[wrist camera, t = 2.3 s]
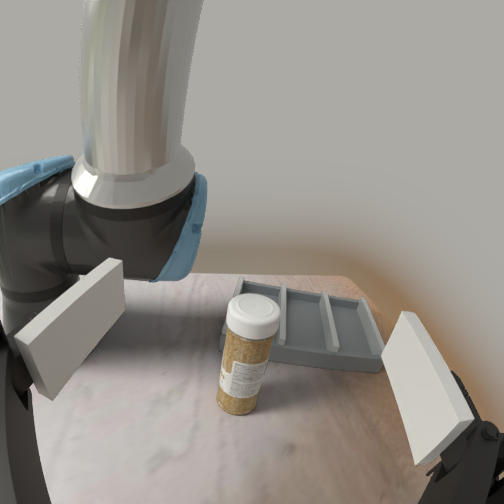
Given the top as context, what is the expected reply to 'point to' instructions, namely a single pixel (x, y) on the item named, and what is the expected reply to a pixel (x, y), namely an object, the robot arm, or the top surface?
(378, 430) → the top surface
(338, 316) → the tray
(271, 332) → the spice jar
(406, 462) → the top surface
